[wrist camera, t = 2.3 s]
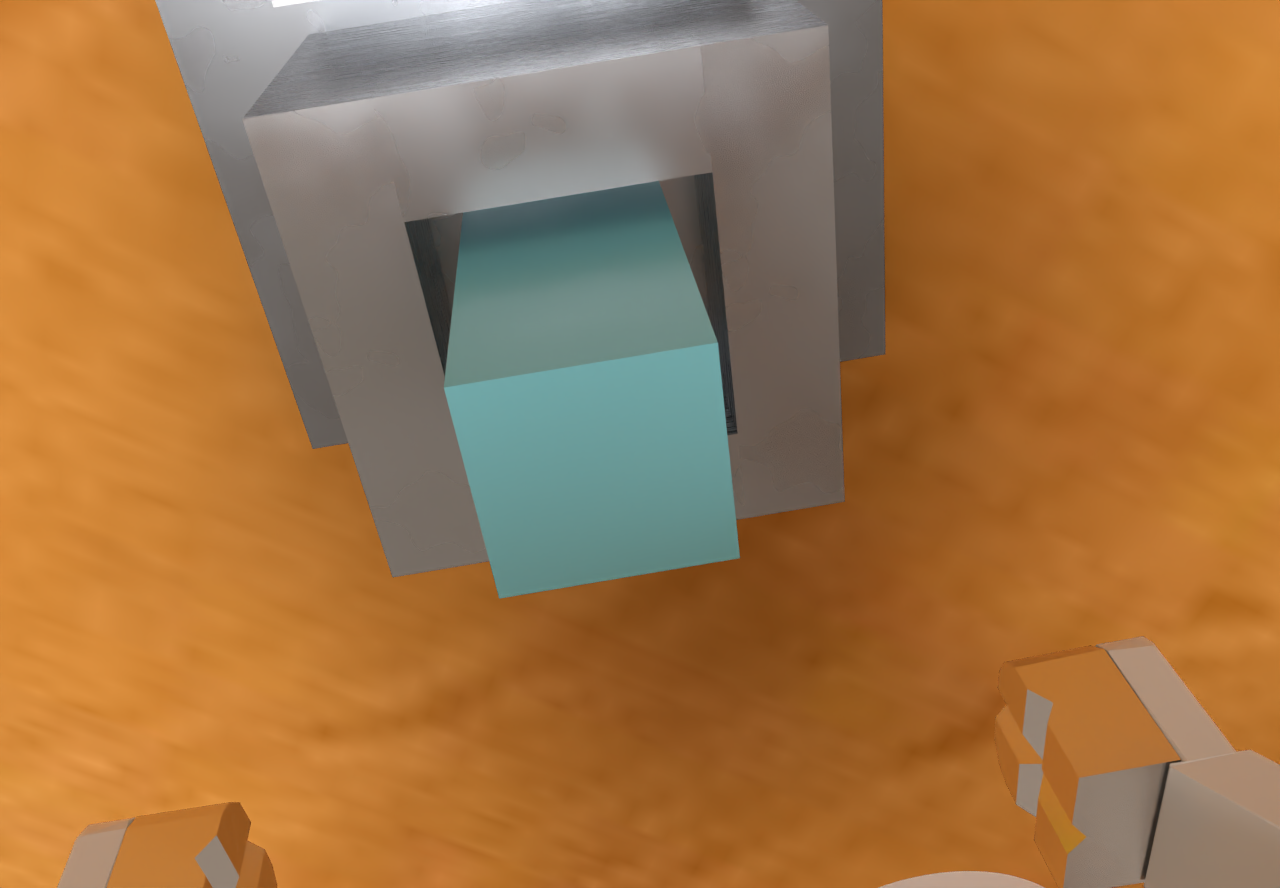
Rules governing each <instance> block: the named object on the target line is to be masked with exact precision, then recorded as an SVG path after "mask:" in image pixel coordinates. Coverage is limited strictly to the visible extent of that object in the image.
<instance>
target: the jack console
mask: <svg viewBox="0 0 1280 888" xmlns="http://www.w3.org/2000/svg"><path fill="white" fill-rule="evenodd" d="M155 1H156V4H157V7H158V9H159V12H160V15H161V18H162V21H163V24H164V27H165V29H166V32H167V35H168V38H169V41H170V44H171V46H172V49H173V52H174V55H175V58H176V61H177V64H178V66H179V69H180V72H181V75H182V78H183V81H184V83H185V86H186V89H187V92H188V95H189V98H190V101H191V103H192V106H193V109H194V112H195V115H196V118H197V120H198V123H199V126H200V129H201V132H202V135H203V138H204V140H205V143H206V146H207V149H208V152H209V155H210V157H211V160H212V163H213V166H214V169H215V172H216V175H217V177H218V180H219V183H220V186H221V189H222V192H223V194H224V197H225V200H226V203H227V206H228V209H229V212H230V214H231V217H232V220H233V223H234V226H235V229H236V231H237V234H238V237H239V240H240V243H241V246H242V249H243V251H244V254H245V257H246V260H247V263H248V266H249V268H250V271H251V274H252V277H253V280H254V283H255V286H256V288H257V291H258V294H259V297H260V300H261V303H262V305H263V308H264V311H265V314H266V317H267V320H268V323H269V325H270V328H271V331H272V334H273V337H274V340H275V342H276V345H277V348H278V351H279V354H280V357H281V360H282V362H283V365H284V368H285V371H286V374H287V377H288V379H289V382H290V385H291V388H292V391H293V394H294V397H295V399H296V402H297V405H298V408H299V411H300V414H301V416H302V419H303V422H304V425H305V428H306V431H307V434H308V436H309V439H310V442H311V445H312V448H313V449H315V448H321V447H327V446H333V445H339V444H345V443H349V446H350V449H351V452H352V455H353V458H354V461H355V464H356V467H357V470H358V473H359V476H360V480H361V483H362V486H363V489H364V492H365V495H366V498H367V501H368V504H369V507H370V510H371V513H372V516H373V519H374V522H375V525H376V528H377V531H378V534H379V537H380V540H381V543H382V546H383V549H384V553H385V556H386V559H387V562H388V565H389V568H390V571H391V574H392V577H398V576H404V575H410V574H416V573H422V572H428V571H434V570H440V569H446V568H452V567H458V566H464V565H470V564H475V563H481V562H487V561H489V557H488V554H487V550H486V546H485V542H484V538H483V535H482V531H481V527H480V523H479V519H478V516H477V512H476V508H475V504H474V501H473V497H472V493H471V489H470V485H469V482H468V478H467V474H466V470H465V466H464V463H463V459H462V455H461V451H460V447H459V444H458V440H457V436H456V432H455V428H454V425H453V421H452V417H451V413H450V409H449V406H448V402H447V398H446V394H445V390H444V381H445V372H446V363H447V354H448V345H449V336H450V327H451V318H452V308H453V299H454V290H455V281H456V272H457V263H458V254H459V245H460V236H461V227H462V218H463V212H470V211H476V210H482V209H488V208H494V207H500V206H507V205H513V204H519V203H525V202H531V201H537V200H544V199H550V198H556V197H562V196H568V195H574V194H581V193H587V192H593V191H599V190H605V189H612V188H618V187H624V186H630V185H636V184H642V183H649V182H655V181H659V183H660V186H661V188H662V191H663V194H664V197H665V199H666V202H667V205H668V207H669V210H670V213H671V216H672V218H673V221H674V224H675V227H676V229H677V232H678V235H679V238H680V240H681V243H682V246H683V249H684V251H685V254H686V257H687V259H688V262H689V265H690V268H691V270H692V273H693V276H694V279H695V281H696V284H697V287H698V290H699V292H700V295H701V298H702V301H703V303H704V306H705V309H706V312H707V314H708V317H709V320H710V322H711V325H712V328H713V331H714V333H715V336H716V339H717V342H718V349H719V359H720V369H721V378H722V388H723V398H724V408H725V417H726V427H727V437H728V447H729V456H730V466H731V476H732V485H733V495H734V505H735V515H736V520H738V519H744V518H750V517H756V516H762V515H768V514H774V513H780V512H786V511H792V510H798V509H804V508H810V507H816V506H822V505H828V504H834V503H840V502H845V496H844V467H843V438H842V409H841V380H840V362H842V361H848V360H854V359H860V358H866V357H872V356H878V355H884V354H885V257H884V140H883V24H882V0H155Z"/></svg>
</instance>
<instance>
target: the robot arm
mask: <svg viewBox="0 0 1280 888" xmlns="http://www.w3.org/2000/svg"><path fill="white" fill-rule="evenodd" d="M998 690H999V691H1000V693H1001V695H1002V697H1003V699H1004V701H1005V703H1006V706H1005V707H1004V708H1003V709H1002V710H1001V711H1000V713H999V714H998V715H997V716H996V717H995V744H996V750H997V755H998V761H999V765H1000V768H1001V771H1002V774H1003V777H1004V779H1005V782H1006V785H1007V787H1008V789H1009V791H1010V793H1011V795H1012V797H1013V799H1014V801H1015V803H1016V805H1018V806H1019V807H1021V808H1023V809H1024V810H1026V811H1027V812H1029V813H1030V814H1032V815H1033V816H1035V817H1036V824H1035V834H1034V841H1035V843H1036V845H1037V847H1038V849H1039V851H1040V853H1041V855H1042V857H1043V859H1044V861H1045V863H1046V865H1047V867H1048V868H1049V870H1050V872H1051V874H1052V876H1053V878H1054V880H1055V882H1056V884H1057V886H1058V888H1111V887H1118V886H1124V885H1130V884H1137V883H1143V882H1145V883H1144V887H1145V888H1280V765H1279V764H1277V763H1275V762H1274V761H1272V760H1270V759H1268V758H1266V757H1264V756H1262V755H1260V754H1258V753H1256V752H1254V751H1252V750H1245V751H1238V752H1236V750H1235V749H1234V748H1233V746H1232V745H1231V744H1230V743H1229V741H1228V740H1227V739H1226V737H1225V736H1224V735H1223V733H1222V732H1221V731H1220V729H1219V728H1218V727H1217V726H1216V724H1215V723H1214V722H1213V720H1212V719H1211V718H1210V716H1209V715H1208V714H1207V712H1206V711H1205V710H1204V709H1203V707H1202V706H1201V705H1200V703H1199V702H1198V701H1197V699H1196V698H1195V697H1194V695H1193V694H1192V693H1191V692H1190V690H1189V689H1188V688H1187V686H1186V685H1185V684H1184V682H1183V681H1182V680H1181V678H1180V677H1179V676H1178V674H1177V673H1176V672H1175V671H1174V669H1173V668H1172V667H1171V665H1170V664H1169V663H1168V661H1167V660H1166V659H1165V657H1164V656H1163V655H1162V654H1161V652H1160V651H1159V650H1158V648H1157V647H1156V646H1155V644H1154V643H1153V642H1152V641H1150V640H1148V639H1147V638H1145V637H1143V636H1141V637H1136V638H1130V639H1125V640H1120V641H1114V642H1109V643H1103V644H1098V645H1096V646H1091V645H1090V646H1085V647H1079V648H1074V649H1069V650H1064V651H1059V652H1053V653H1048V654H1043V655H1038V656H1032V657H1027V658H1022V659H1017V660H1012V661H1006V662H1004V663H1003V665H1002V667H1001V669H1000V670H999V679H998ZM250 825H251V821H250V820H249V818H248V816H247V814H246V813H245V811H244V809H243V807H242V806H241V804H240V802H228V803H222V804H215V805H209V806H202V807H196V808H189V809H183V810H176V811H170V812H163V813H157V814H150V815H144V816H137V817H134V818H128V819H122V820H116V821H109V822H103V823H97V824H91V825H88V826H87V827H86V828H85V829H84V831H83V832H82V833H81V834H80V835H79V836H78V837H77V839H76V840H75V843H74V845H73V848H72V850H71V853H70V856H69V858H68V861H67V863H66V866H65V868H64V871H63V873H62V876H61V879H60V881H59V884H58V886H57V888H277V882H276V878H275V874H274V870H273V866H272V863H271V861H270V859H269V857H268V855H267V853H266V851H265V849H263V848H261V847H259V846H257V845H255V844H253V843H251V842H249V841H247V839H248V835H249V830H250ZM879 888H1044V887H1043V886H1040V885H1038V884H1036V883H1034V882H1031V881H1028V880H1026V879H1022V878H1019V877H1015V876H1011V875H1006V874H1001V873H993V872H981V871H957V872H944V873H936V874H929V875H923V876H918V877H913V878H909V879H905V880H901V881H898V882H894V883H891V884H888V885H885V886H882V887H879Z"/></svg>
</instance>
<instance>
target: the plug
mask: <svg viewBox="0 0 1280 888" xmlns="http://www.w3.org/2000/svg"><path fill="white" fill-rule="evenodd" d="M444 390H445V394H446V398H447V402H448V406H449V409H450V413H451V417H452V421H453V425H454V428H455V432H456V436H457V440H458V444H459V447H460V451H461V455H462V459H463V463H464V466H465V470H466V474H467V478H468V482H469V485H470V489H471V493H472V497H473V501H474V504H475V508H476V512H477V516H478V519H479V523H480V527H481V531H482V535H483V538H484V542H485V546H486V550H487V554H488V557H489V561H490V565H491V569H492V573H493V576H494V580H495V584H496V588H497V592H498V595H499V599H500V598H506V597H512V596H517V595H523V594H529V593H535V592H541V591H547V590H553V589H559V588H565V587H571V586H577V585H583V584H589V583H595V582H601V581H607V580H613V579H619V578H625V577H631V576H636V575H642V574H648V573H654V572H660V571H666V570H672V569H678V568H684V567H690V566H696V565H702V564H708V563H714V562H720V561H726V560H732V559H738V558H740V554H739V544H738V534H737V524H736V515H735V505H734V495H733V485H732V476H731V466H730V456H729V447H728V437H727V427H726V417H725V408H724V398H723V388H722V378H721V369H720V359H719V349H718V342H717V339H716V336H715V333H714V331H713V328H712V325H711V322H710V320H709V317H708V314H707V312H706V309H705V306H704V303H703V301H702V298H701V295H700V292H699V290H698V287H697V284H696V281H695V279H694V276H693V273H692V270H691V268H690V265H689V262H688V259H687V257H686V254H685V251H684V249H683V246H682V243H681V240H680V238H679V235H678V232H677V229H676V227H675V224H674V221H673V218H672V216H671V213H670V210H669V207H668V205H667V202H666V199H665V197H664V194H663V191H662V188H661V186H660V183H659V181H655V182H649V183H642V184H636V185H630V186H624V187H618V188H612V189H605V190H599V191H593V192H587V193H581V194H574V195H568V196H562V197H556V198H550V199H544V200H537V201H531V202H525V203H519V204H513V205H507V206H500V207H494V208H488V209H482V210H476V211H470V212H463V218H462V227H461V236H460V245H459V254H458V263H457V272H456V281H455V290H454V299H453V308H452V318H451V327H450V336H449V345H448V354H447V363H446V372H445V381H444Z"/></svg>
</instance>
